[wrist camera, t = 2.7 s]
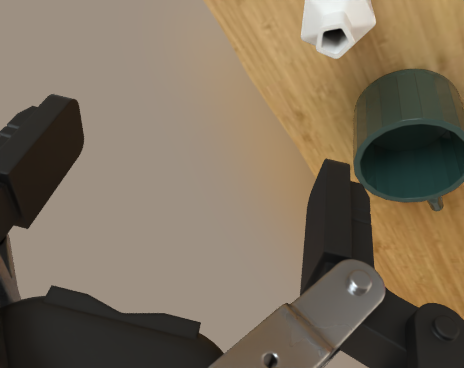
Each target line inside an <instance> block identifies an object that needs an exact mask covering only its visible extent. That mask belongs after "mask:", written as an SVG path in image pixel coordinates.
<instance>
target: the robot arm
mask: <svg viewBox="0 0 464 368" xmlns="http://www.w3.org/2000/svg"><path fill="white" fill-rule="evenodd" d="M83 144H84V134H83V128H82V122H81V115H80V109H79V105H78V102H77V100H75V99H71V98H67V97H63V96H59V95H54V94H51V95H49V96H48V97H47V98H46V99H45V100H44V101H43V102H42V104H40V105H39V107H35V106H32V107H30V108H28V109H26V110H24V111H22V112H20V113H18V114H17V115H16V116H15V117H14V118H13V119H12V120H11V121H10V122H9V123H8V124H7V127H4V128H3V129H2V130H1V131H0V368H324V367H325V366H326V365H327V364H328V363H329V362H330V361H331V360H332V359H333V358H334V356H335V355H336V354H337V353H338V352H339V351H340V350H341V351H343V352H344V353H346V354H348V355H349V356H351V357H352V358H354V359H356V360H358V361H359V362H361V363H362V364H364V365H366V366H367V367H369V368H464V320H463V319H462V318H461V317H460V316H459V315H458V314H457V313H456V312H455V311H453V310H452V309H450V308H448V307H446V306H444V305H441V304H437V303H427V304H424V305H422V306H421V307H420V308H418V307H416V306H415V305H413V304H411V303H409V302H407V301H405V300H404V299H402V298H400V297H398V296H397V295H395V294H393V293H392V292H391V291H389V290H388V289H387V288H386V287H385V285H384V282H383V279H382V278H381V276H380V275H379V273H378V272H377V271H376V270H375V267H374V256H373V241H372V226H371V214H370V197H369V196H368V194H367V192H366V190H365V188H364V186H363V185H362V184H360V183H356V182H352V181H350V165H349V164H347V163H343V162H339V161H335V160H330V159H325V160H324V162H323V164H322V167H321V169H320V171H319V174H318V176H317V179H316V181H315V184H314V186H313V189H312V191H311V194H310V197H309V202H308V206H307V215H306V228H305V241H304V253H303V265H302V266H303V267H302V278H301V290H300V297H299V298H297V299H296V300H295V301H294V302H292V303H291V304H288V303H285V304H283V305H282V306H280V307H279V308H278V309H276V310H275V311H274V312H273V313H272V314H271V315H270V316H268V317H267V318H266V319H265V320H263V321H262V322H261V323H260V324H259V325H258V326H256V327H255V328H254V329H253V330H252V331H250V332H249V333H248V334H247V335H246V336H245V337H243V338H242V339H241V340H240V341H239V342H238V343H236V344H235V345H234V346H233V347H232V348H230V349H229V350H228V351H227V352H226V353H223V352H222V351H221V349H220V348H219V347H218V346H217V345H216V344H215V343H213V342H212V341H211V340H209V339H208V338H207V337H205V336H204V335H202V334H200V333H199V329H200V324H201V323H200V322H197V321H193V320H189V319H185V318H181V317H177V316H173V315H169V314H165V313H121V312H119V311H117V310H115V309H113V308H111V307H110V306H107V305H106V304H104V303H103V302H101V301H99V300H97V299H95V298H93V297H91V296H90V295H88V294H85V293H81V292H77V291H72V290H68V289H65V288H61V287H57V286H51V288H50V290H49V291H48V293H47V295H46V296H39V297H32V298H27V299H22V300H21V298H20V294H19V291H18V287H17V281H16V276H15V270H14V263H13V257H12V251H11V245H10V238H9V235H8V232H9V231H10V229H11V228H12V227H13V225H14V226H19V227H22V228H26V229H28V228H29V227H30V225H31V224H32V222H33V221H34V220H35V218H36V217H37V215H38V214H39V212H40V211H41V210H42V208H43V207H44V205H45V204H46V202H47V201H48V200H49V198H50V196H51V195H52V194H53V192H54V191H55V190H56V188H57V187H58V185H59V184H60V182H61V181H62V179H63V178H64V177H65V175H66V174H67V172H68V171H69V170H70V168H71V167H72V165H73V164H74V162H75V161H76V160H77V158H78V157H79V155H80V153H81V151H82V148H83Z"/></svg>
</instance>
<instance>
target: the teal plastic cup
mask: <svg viewBox="0 0 464 368" xmlns="http://www.w3.org/2000/svg"><path fill="white" fill-rule="evenodd" d="M353 164H354V172H355V175H356V177H357V179H358V180H359V182H360V184H362V185H363V186H364V188H366V189H367V190H368V191H369V192H371V193H372V194H374V195H376V196H379V197H381V198H384V199H386V200H391V201H398V202H422V201H426V200H427V201H428V203H429V205H430V207H431V209H432V210H433V211H440V210H441V209H442V208H443V202H442V197H441V196H443V195H445V194H447V193H449V192H451V191H453V190H455V189H456V188H457V187H459V186H460V185H461V184H462V183H463V182H464V108H463V105H462V102H461V99H460V96H459V93H458V91H457V89H456V88H455V86H454V85H453V84H452V83H451V82H450V81H449V80H448V79H447V78H445V77H444V76H442V75H440V74H438V73H435V72H432V71H429V70H424V69H406V70H400V71H396V72H393V73H390V74H387V75H385V76H383V77H381V78H379V79H377V80H376V81H374V82H373V83H372V84H370V85H369V86H368V87H367V88H366V89H365V90H364V91H363V93H362V94H361V95H360V97H359V99H358V101H357V103H356V105H355V110H354V118H353Z"/></svg>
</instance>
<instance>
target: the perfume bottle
mask: <svg viewBox="0 0 464 368" xmlns="http://www.w3.org/2000/svg"><path fill="white" fill-rule="evenodd" d="M375 24H376V20H375V16H374V12H373V8H372V4H371V0H305V5H304V13H303V22H302V30H301V39H302V40H303V41H305V42H308V43H310V44H312V45H315V46H316V50H317V51H318V52H320V53H322V54H325V55H327V56H329V57H332V58H335V59H337V58H339V57H341V56H342V55H343V54H344V53H346V52H347V51H348V50H349V49H350V48H351V47H352V46H353V45H354V44H355V43H356V42H358V41H359V40H360V39H361V38H362V37H363V36H364V35H365V34H366V33H367V32H368V31H370V30H371V29H372V28H373V27H374V26H375Z"/></svg>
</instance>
